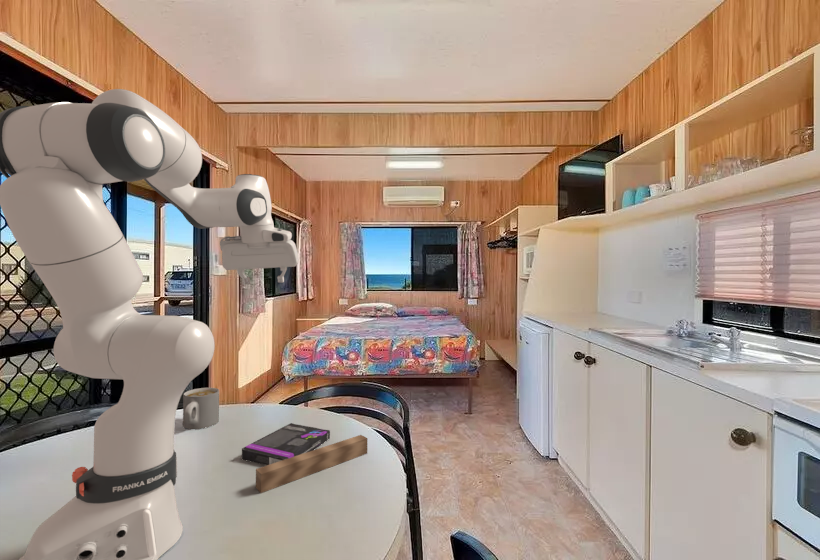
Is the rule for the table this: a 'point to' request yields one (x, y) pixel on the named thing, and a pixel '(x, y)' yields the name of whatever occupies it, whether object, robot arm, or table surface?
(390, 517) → the table surface
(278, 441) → the box
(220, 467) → the table surface
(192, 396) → the coffee mug
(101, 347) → the robot arm
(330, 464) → the walnut board
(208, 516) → the table surface
